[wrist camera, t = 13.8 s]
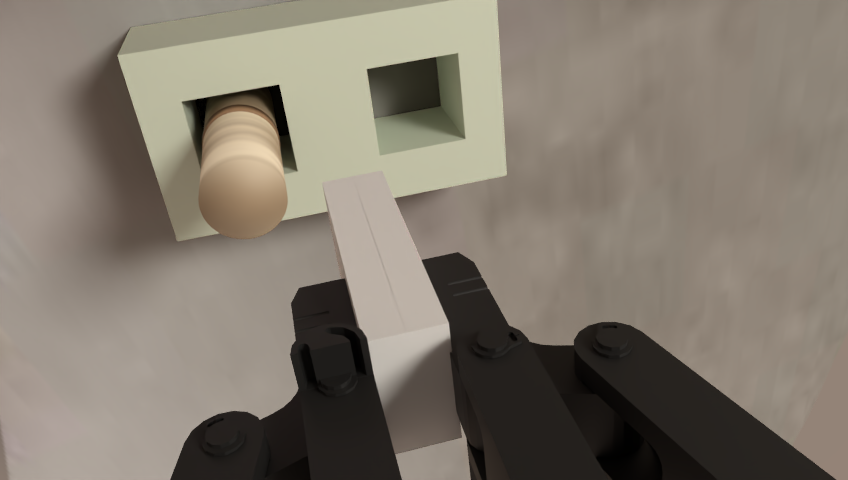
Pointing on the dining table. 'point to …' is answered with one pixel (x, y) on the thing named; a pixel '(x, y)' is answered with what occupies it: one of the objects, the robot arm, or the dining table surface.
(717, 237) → the dining table surface
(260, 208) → the dowel
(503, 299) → the dining table surface
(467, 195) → the dining table surface
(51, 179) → the dining table surface
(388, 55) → the pale green holed block
